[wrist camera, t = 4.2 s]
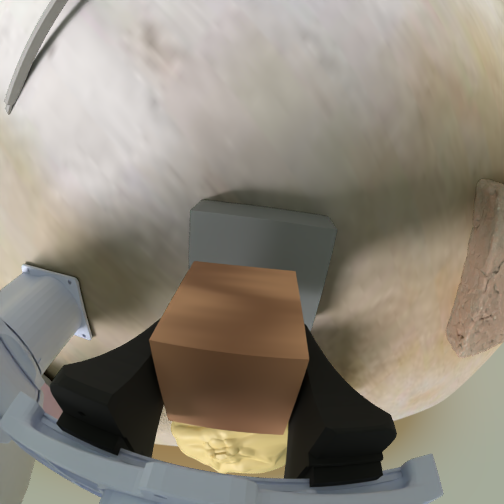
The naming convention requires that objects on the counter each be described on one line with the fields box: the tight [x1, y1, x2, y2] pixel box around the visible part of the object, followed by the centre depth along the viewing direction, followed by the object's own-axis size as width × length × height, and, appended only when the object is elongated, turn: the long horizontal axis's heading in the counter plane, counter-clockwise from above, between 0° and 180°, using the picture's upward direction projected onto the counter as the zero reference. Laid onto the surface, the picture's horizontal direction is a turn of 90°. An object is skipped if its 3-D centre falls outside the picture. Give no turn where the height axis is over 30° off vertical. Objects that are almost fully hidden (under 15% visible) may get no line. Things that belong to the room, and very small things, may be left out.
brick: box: [446, 179, 504, 357], centre depth 17 cm, size 17×8×5 cm, turn 5°
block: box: [149, 261, 309, 435], centre depth 11 cm, size 5×5×6 cm
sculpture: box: [171, 421, 288, 474], centre depth 21 cm, size 11×12×11 cm
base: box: [189, 200, 337, 332], centre depth 19 cm, size 9×9×3 cm
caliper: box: [4, 0, 68, 115], centre depth 10 cm, size 20×1×6 cm, turn 133°
